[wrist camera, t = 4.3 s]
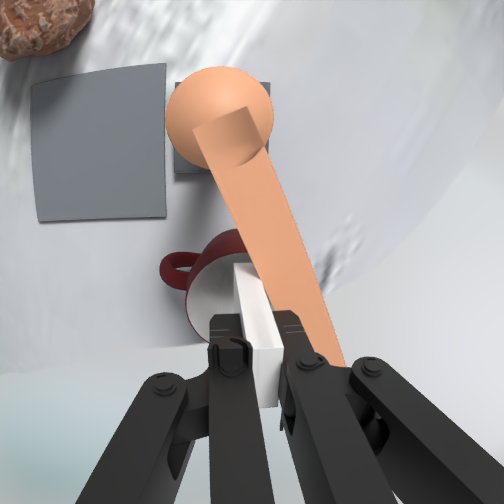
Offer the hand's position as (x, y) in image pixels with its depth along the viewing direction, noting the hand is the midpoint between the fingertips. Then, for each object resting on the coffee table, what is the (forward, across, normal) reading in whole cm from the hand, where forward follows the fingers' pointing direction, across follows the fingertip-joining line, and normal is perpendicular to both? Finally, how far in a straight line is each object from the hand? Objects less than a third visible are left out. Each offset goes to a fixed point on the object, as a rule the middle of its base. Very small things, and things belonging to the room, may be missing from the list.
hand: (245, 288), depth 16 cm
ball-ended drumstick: (+2, +2, +1) cm, 3 cm away
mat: (+15, -13, +7) cm, 21 cm away
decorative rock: (+15, -18, +22) cm, 32 cm away
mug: (+15, 0, -4) cm, 15 cm away
